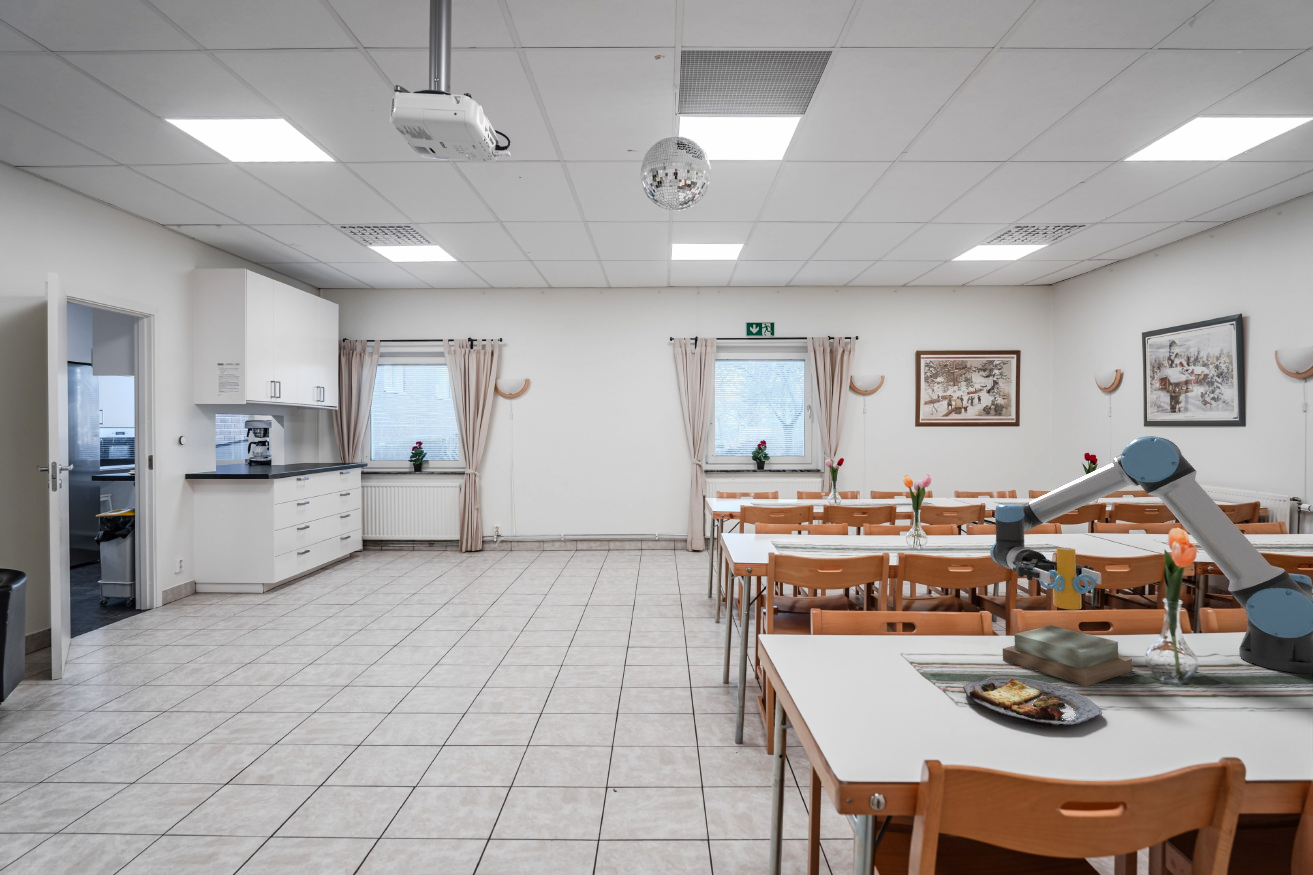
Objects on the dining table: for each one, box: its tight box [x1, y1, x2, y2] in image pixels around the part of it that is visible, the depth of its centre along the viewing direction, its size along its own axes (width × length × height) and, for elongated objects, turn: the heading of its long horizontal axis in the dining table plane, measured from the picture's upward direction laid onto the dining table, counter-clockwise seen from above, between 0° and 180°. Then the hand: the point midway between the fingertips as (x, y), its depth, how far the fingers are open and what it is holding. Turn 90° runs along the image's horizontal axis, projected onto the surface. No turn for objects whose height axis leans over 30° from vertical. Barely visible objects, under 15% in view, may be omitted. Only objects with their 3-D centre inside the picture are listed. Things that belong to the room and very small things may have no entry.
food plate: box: [963, 675, 1103, 727], centre depth 128 cm, size 25×23×4 cm
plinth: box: [1002, 624, 1133, 687], centre depth 152 cm, size 20×20×7 cm
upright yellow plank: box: [1038, 546, 1096, 611], centre depth 154 cm, size 12×10×15 cm
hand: (1074, 578), depth 151 cm, fingers closed on upright yellow plank, 12 cm apart
